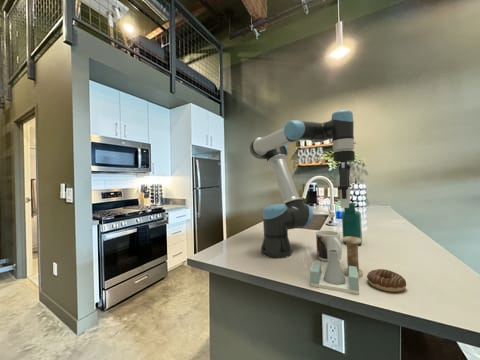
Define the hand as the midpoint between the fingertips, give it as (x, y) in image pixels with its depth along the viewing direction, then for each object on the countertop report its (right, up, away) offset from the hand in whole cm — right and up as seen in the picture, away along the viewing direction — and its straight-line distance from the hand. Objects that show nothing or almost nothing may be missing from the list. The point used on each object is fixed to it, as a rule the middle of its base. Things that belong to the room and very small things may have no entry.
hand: (345, 205), depth 82 cm
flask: (-9, -24, -11) cm, 28 cm away
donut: (+6, -25, -14) cm, 29 cm away
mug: (-2, -25, +12) cm, 28 cm away
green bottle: (+19, -24, +31) cm, 43 cm away
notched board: (-9, -25, -11) cm, 29 cm away
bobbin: (+1, -25, -4) cm, 25 cm away
